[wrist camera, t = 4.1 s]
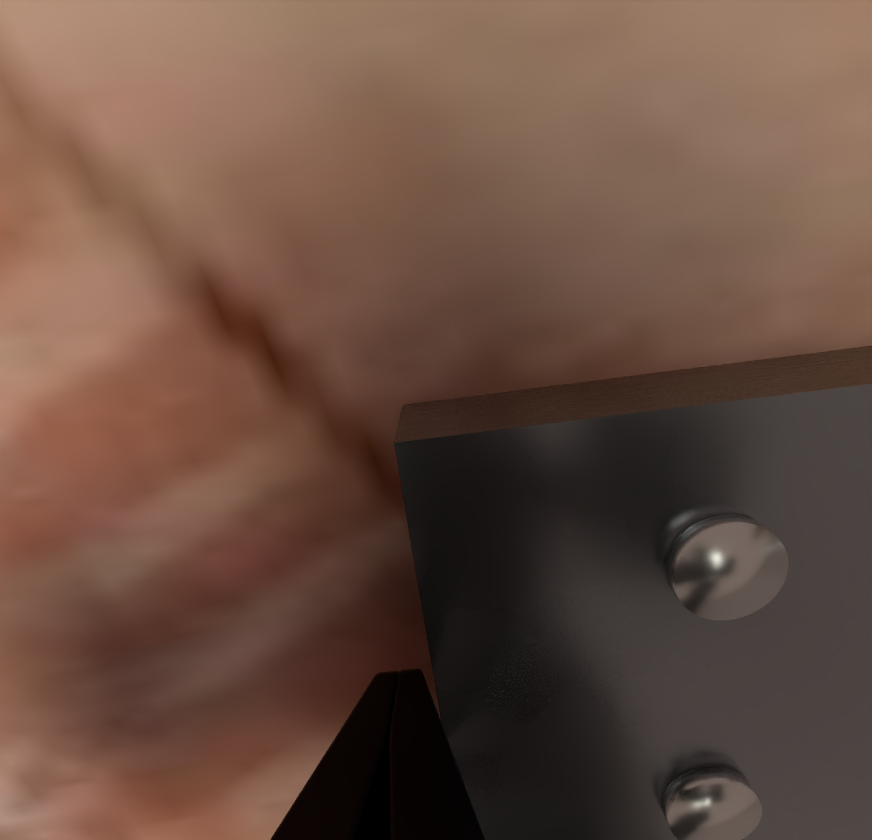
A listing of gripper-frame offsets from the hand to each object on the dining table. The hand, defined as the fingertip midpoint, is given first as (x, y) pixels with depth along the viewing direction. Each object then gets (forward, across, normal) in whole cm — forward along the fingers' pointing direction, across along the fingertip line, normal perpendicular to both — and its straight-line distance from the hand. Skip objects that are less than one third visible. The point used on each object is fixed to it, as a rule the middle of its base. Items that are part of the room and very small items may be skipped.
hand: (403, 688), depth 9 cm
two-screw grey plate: (+2, -5, 0) cm, 6 cm away
